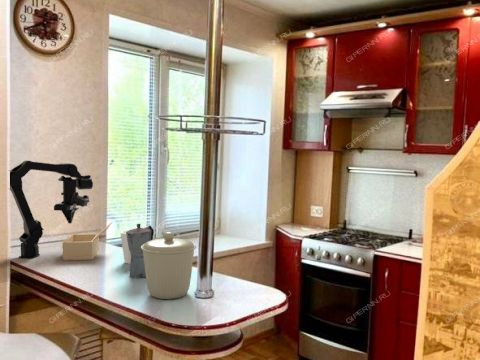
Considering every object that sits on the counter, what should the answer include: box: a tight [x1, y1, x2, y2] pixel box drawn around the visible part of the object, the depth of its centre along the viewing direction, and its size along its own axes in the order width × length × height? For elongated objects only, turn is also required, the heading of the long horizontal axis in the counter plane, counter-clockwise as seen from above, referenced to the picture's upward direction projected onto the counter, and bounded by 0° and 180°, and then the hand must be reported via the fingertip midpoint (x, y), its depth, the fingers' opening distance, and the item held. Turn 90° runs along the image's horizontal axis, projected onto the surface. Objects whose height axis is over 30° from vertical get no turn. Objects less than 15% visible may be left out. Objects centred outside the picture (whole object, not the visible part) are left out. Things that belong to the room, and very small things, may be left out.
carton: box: [62, 233, 100, 262], centre depth 205 cm, size 12×19×8 cm, turn 9°
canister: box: [141, 231, 197, 300], centre depth 151 cm, size 18×18×21 cm
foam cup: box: [120, 229, 131, 265], centre depth 194 cm, size 10×9×13 cm
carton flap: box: [93, 221, 113, 241], centre depth 206 cm, size 8×16×1 cm
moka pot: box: [126, 223, 155, 279], centre depth 175 cm, size 10×15×20 cm, turn 158°
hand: (70, 223), depth 213 cm, fingers closed
